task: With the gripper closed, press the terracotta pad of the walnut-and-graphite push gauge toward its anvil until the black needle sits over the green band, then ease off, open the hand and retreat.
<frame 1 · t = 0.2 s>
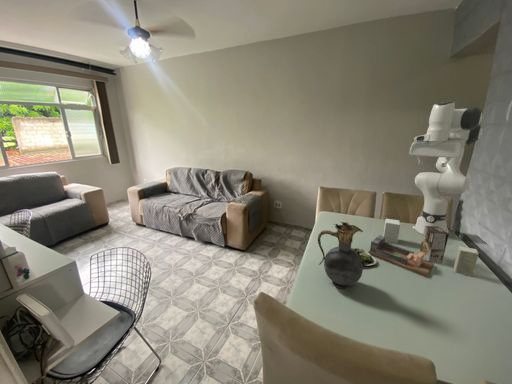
hand: (431, 165, 108), 47 cm above the table, fingers open, 8 cm apart
salad plate: (356, 259, 114), on the table
coffee box: (430, 257, 114), on the table
pitcher: (337, 282, 97), on the table
supplement box: (389, 240, 132), on the table
skincare box: (462, 272, 101), on the table
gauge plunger: (414, 258, 106), point 4 cm above the table, slide at 0.0 cm
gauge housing: (399, 259, 112), on the table
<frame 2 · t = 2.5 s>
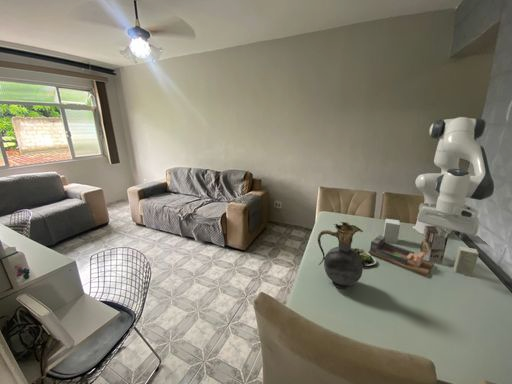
hand: (442, 236, 96), 19 cm above the table, fingers closed
nothing on the table moved.
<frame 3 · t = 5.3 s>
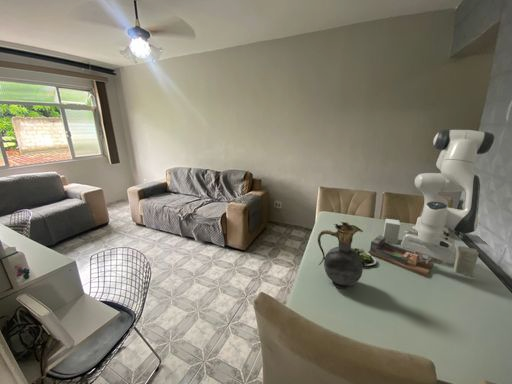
hand: (423, 262, 104), 4 cm above the table, fingers closed
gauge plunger: (410, 256, 107), point 4 cm above the table, slide at 1.5 cm, touching gripper
everything else where it was.
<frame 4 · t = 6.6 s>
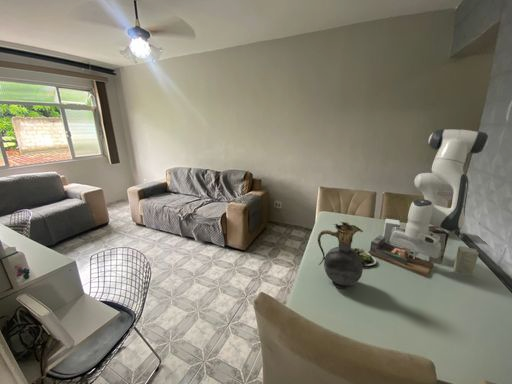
hand: (411, 257, 107), 4 cm above the table, fingers closed
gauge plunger: (398, 252, 111), point 4 cm above the table, slide at 6.7 cm, touching gripper
everything else where it was.
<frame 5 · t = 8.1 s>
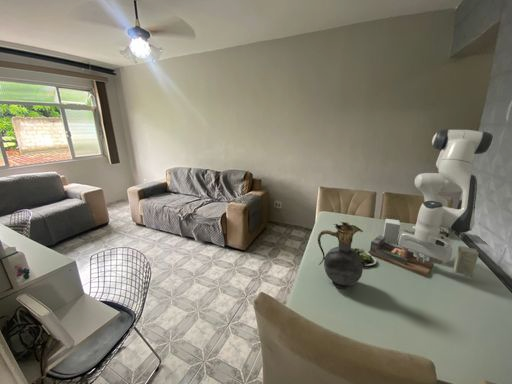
hand: (420, 261, 104), 4 cm above the table, fingers closed
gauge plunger: (398, 252, 111), point 4 cm above the table, slide at 6.8 cm
everything else where it was.
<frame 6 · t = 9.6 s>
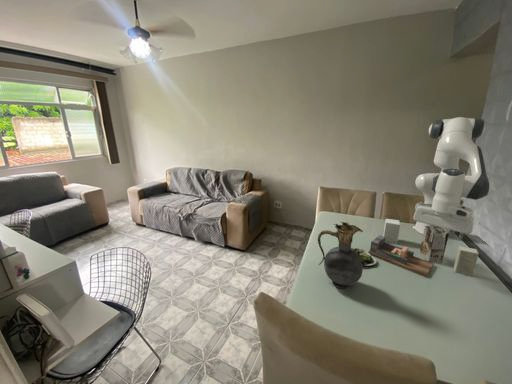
hand: (438, 235, 97), 19 cm above the table, fingers closed
nothing on the table moved.
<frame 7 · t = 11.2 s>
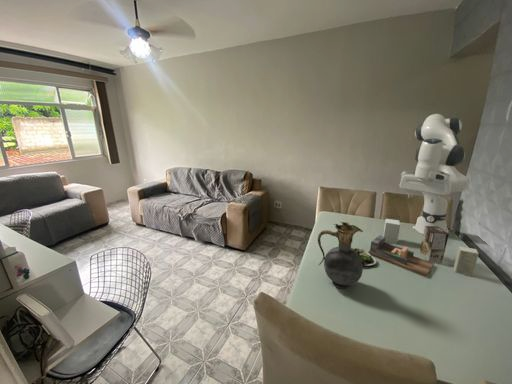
hand: (420, 200, 108), 31 cm above the table, fingers open, 8 cm apart
nothing on the table moved.
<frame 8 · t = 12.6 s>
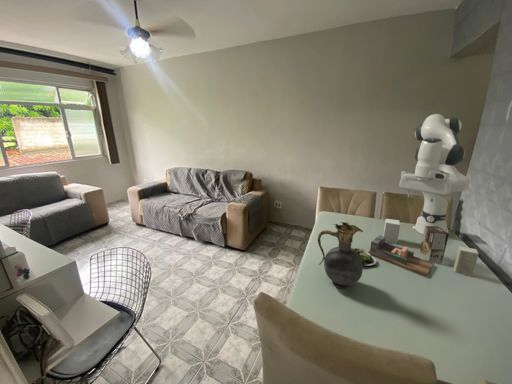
hand: (420, 199, 108), 31 cm above the table, fingers open, 8 cm apart
nothing on the table moved.
at the end: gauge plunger slide at 6.8 cm; skincare box moved 0.2 cm from its start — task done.
